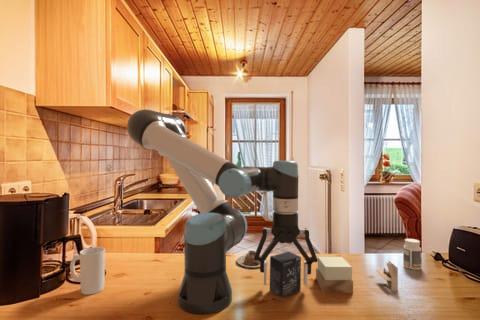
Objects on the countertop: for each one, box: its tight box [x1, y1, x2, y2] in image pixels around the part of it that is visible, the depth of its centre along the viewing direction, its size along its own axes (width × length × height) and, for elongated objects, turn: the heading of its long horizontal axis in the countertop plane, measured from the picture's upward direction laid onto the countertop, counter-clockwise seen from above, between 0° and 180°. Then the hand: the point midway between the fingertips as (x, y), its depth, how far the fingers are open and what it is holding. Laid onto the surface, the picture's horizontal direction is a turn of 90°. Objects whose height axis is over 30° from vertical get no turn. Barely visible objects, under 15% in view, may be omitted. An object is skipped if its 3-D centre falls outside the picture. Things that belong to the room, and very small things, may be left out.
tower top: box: [317, 256, 353, 280], centre depth 84 cm, size 8×8×4 cm
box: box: [269, 251, 302, 298], centre depth 81 cm, size 8×6×11 cm
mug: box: [69, 246, 106, 296], centre depth 82 cm, size 10×7×12 cm, turn 91°
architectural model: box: [376, 260, 399, 292], centre depth 85 cm, size 3×7×7 cm, turn 175°
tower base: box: [315, 267, 354, 294], centre depth 85 cm, size 9×9×4 cm
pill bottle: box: [402, 238, 423, 271], centre depth 99 cm, size 6×6×10 cm
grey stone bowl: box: [236, 250, 269, 269], centre depth 103 cm, size 12×12×5 cm
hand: (285, 283), depth 81 cm, fingers open, 11 cm apart
